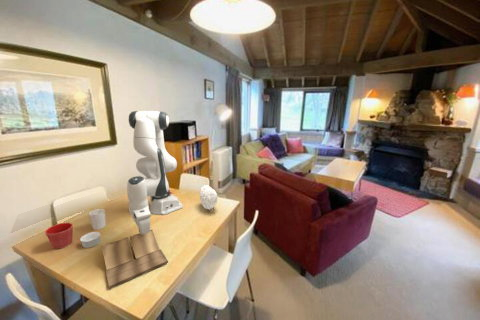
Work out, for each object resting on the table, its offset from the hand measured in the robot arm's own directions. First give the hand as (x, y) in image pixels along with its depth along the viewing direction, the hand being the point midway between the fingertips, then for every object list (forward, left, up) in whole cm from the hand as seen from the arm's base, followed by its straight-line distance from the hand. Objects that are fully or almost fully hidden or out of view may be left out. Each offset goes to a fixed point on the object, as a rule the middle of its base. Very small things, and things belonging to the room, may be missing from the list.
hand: (141, 232), depth 108 cm
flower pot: (+33, -27, -8) cm, 44 cm away
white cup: (+16, -35, -8) cm, 39 cm away
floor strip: (+6, +15, -8) cm, 18 cm away
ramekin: (+21, -19, -8) cm, 30 cm away
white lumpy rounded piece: (-49, -15, -8) cm, 52 cm away
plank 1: (+12, +3, -5) cm, 13 cm away
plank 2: (0, +3, -5) cm, 6 cm away
